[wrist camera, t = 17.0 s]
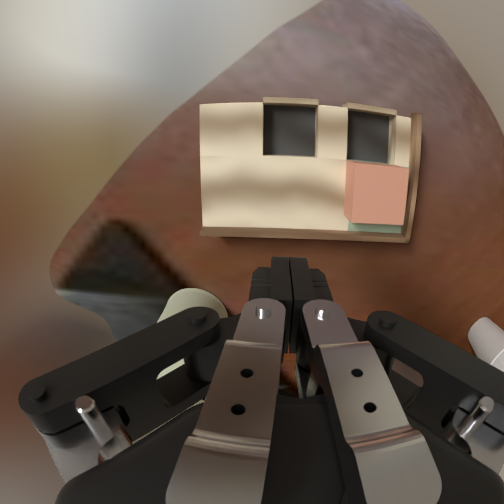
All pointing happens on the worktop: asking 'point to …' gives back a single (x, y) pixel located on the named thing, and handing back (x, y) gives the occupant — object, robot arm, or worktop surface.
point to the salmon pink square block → (375, 193)
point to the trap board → (298, 167)
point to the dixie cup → (488, 342)
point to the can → (188, 300)
